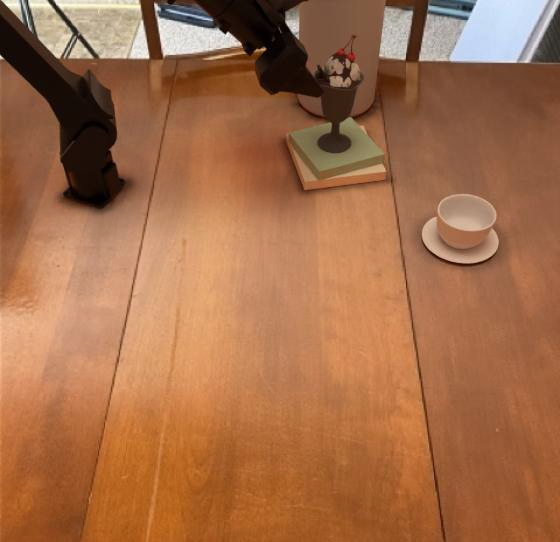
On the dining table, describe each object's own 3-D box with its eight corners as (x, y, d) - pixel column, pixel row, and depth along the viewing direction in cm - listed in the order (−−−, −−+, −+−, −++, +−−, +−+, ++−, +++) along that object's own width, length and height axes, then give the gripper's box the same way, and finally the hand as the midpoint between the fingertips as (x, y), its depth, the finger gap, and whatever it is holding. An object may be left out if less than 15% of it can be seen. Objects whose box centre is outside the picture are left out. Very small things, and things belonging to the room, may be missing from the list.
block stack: (303, 191, 96) (304, 173, 94) (285, 142, 104) (285, 124, 101) (386, 180, 98) (389, 162, 95) (362, 133, 105) (364, 115, 103)
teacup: (490, 273, 86) (500, 245, 82) (413, 255, 88) (419, 226, 84) (503, 225, 92) (512, 197, 88) (430, 209, 94) (436, 180, 90)
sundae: (363, 135, 99) (374, 32, 88) (348, 160, 96) (358, 55, 84) (321, 126, 101) (326, 22, 89) (304, 150, 97) (308, 45, 85)
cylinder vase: (365, 126, 106) (384, -51, 87) (288, 113, 108) (290, -62, 89) (380, 86, 114) (401, -86, 94) (308, 75, 116) (314, -95, 96)
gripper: (291, -29, 70) (380, 65, 80) (257, -93, 81) (339, -4, 92) (220, 54, 75) (312, 132, 85) (198, -17, 87) (281, 59, 97)
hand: (312, 76), depth 90 cm, fingers open, 9 cm apart
